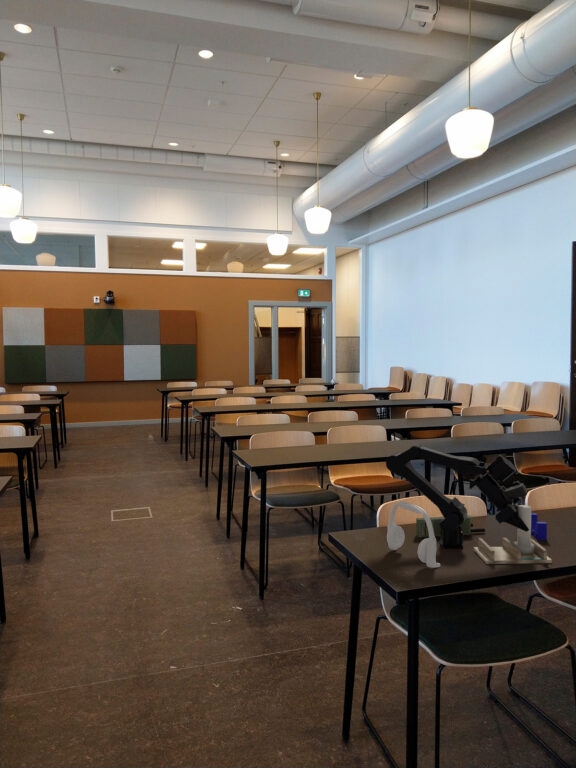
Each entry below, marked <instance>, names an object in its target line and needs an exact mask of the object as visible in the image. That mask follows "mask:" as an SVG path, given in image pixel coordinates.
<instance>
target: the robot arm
mask: <svg viewBox="0 0 576 768" xmlns="http://www.w3.org/2000/svg"><path fill="white" fill-rule="evenodd" d="M415 458H418V459H420V460H424V461H427V462H430V463H433V464H437V465H439V466H442V467H446V468H449V469H451V470H453V471H454V472H456V473H457V474H459V475H461V476H463V477H465V478H467V479H469V480H468V483H469V487H468V488H469V489H470V490H472V489H474V487H476V488H477V489H478V490H479V491H480V492H481V493H482V494H483V495H484V496H485V497H486V498H487V499H486V501H487V502H488V503H491V504H492V505H493V506H494V507H495V508H496V513H495V520H496V522H497V523H498V524H499V525H500V524H502V523H506V524H508V525H511V526H513V527H515V528H519V529H521V530H524V531H526V532H527V531H529V528H528V527H527V525H526V524H525V523H524V521H523V520H522V518H521V517H520V516H519V508H518V506H519V505H523V502H522V499H523V497H526V496H527V495H528V490H527V487H526V485H525V484H524V482H522V483H521V481H519V480H517V481H513V483H512V486H510V487H508V488H506V486H504V485H502V486H501V485H500V484H499V483H498V482H504V481H505V480H507V479H508V478H509V477H511V476H512V475H513V474H514V473H516V471H517V468H516V466H515V465H514V464H513V463H512V461H511V460H509V459H507V458H505V456H503V455H502V454H499V455H498V456H497V457H496V458H495V459H494V460H493V461H491V463H487V462H483V461H480V460H479V459H478V458H475V457H470V456H459V455H458V456H457V455H453V454H450V453H445V452H442V451H440V450H436V449H432V448H429V447H426V446H422V445H421V444H415V445H412V446H411V447H410V448H409V449H407V450H405V451H403V452H395V453H393V454H391V455H389V456H388V457H387V458H386V460H385V466H386V468H387V470H388V471H390V472H391V473H393V474H394V475H396V476H398V477H401V478H403V479H405V480H406V481H408V482H409V483H410V484H411V485H412V486H413V487H414V488H415V489H416V490H418V491H419V492H420V493H421V494H422V495H424V496H425V497H426V498H427V500H429V501H430V502H431V503H433V504H434V505H435V506H436V507H437V509H438V510H439V511H440V513H441V515H442V517H444V519H443V520H442V521H441V522H440V523H439V525H440V528H441V536H440V540H438V541H439V544H440V545H441V547H442V548H443V549H463V548H464V535H463V532H462V531H461V529H462V528H461V527H460V526H459V525H461V524H462V523H463V522H464V520H465V519H466V517H467V516H468V509H467V507H465V505H466V504H465V503H463V502H461V501H460V500H459V499H458V498H457V497H456V496H454V497H453V498H452V499H451V498H450V497H448V496H446V495H445V494H443V492H441V491H440V490H439V489H438V488H437V487H436V486H434V485H433V484H432V483H431V482H429V481H428V479H426V478H425V477H424V476H423V475H422V474H421V473H420V472H419V471H417V470H416V469H415V467H414V466H413V465H412V462H411V461H412V460H415ZM486 472H487V473H486ZM476 476H477V477H476ZM472 478H474V479H472ZM518 502H519V503H518Z"/></svg>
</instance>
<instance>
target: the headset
mask: <svg viewBox="0 0 576 768" xmlns="http://www.w3.org/2000/svg"><path fill="white" fill-rule="evenodd" d="M399 507H400V508H401V509H403V510H405V511H406V510H408V511H409V512H412V513H415V514H418V515H422V516H423V518H425V521H426V524H427V528H428V533H429V537H425V538H424V539H422V540H421V541H420V543H419V545H418V547H417V556H418V559H419V560H420V561H421V562H422V563H426V567H428V568H433V569H434V568H440V567H441V563H439V562H437V560H436V558H437V557H436V554H437V550H438V549H437V548H438V547H437V538H436V536H434V531H433V526H432V523H431V520H430V516H429V514H428V512H427V511H426V510H425V509H424V508H422V507H420V506H419V505H417V504H414V503H411V502H407V501H398V502H396V503H394V504H393V506H392V508H391V511H390V514H389V520H388V522H387V527H386V528H387V533H386V542H387V544H388V548H389V549H390V550H395V551H397V549H399V548H401V547H402V546H403V544H404V543H405V538H406V537H405V531H404V529H403V528H402V527H401V526H400V525H397V523H396V522H395V516H396V512H397V510H398V508H399Z"/></svg>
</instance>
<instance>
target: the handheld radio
mask: <svg viewBox="0 0 576 768" xmlns="http://www.w3.org/2000/svg"><path fill="white" fill-rule="evenodd" d="M429 517H430V516H429ZM415 519H416V520H415V521H416V524H415V526H416V528H415V530H416V532H415V536H416V537H417V538H429V533H428V528H427V524H426V521H425V518H424V517H417V518H415ZM443 519H444V517H443V516H433V517H430V520H431V523H432V526H433V531H434V536H435V537H441V528H440V525H439V523H440V522H441V521H442V520H443ZM473 521H474V520H473V515H467V517H466V519H465V520H464V522H463V523H462V524H461V525H459V526H460V527H461V528H462V529H461V531H462V532H463V536H470V535H471V533H485V532H486V528H483V527H482V528H481V527H480V528H473V527H474V524H473V523H471V522H473Z"/></svg>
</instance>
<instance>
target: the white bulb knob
mask: <svg viewBox="0 0 576 768" xmlns="http://www.w3.org/2000/svg"><path fill="white" fill-rule="evenodd" d="M518 508H519V516H520V517H521V518H522V520H523V521H524V523H525V524H526V525H527V527H528V528H529V531H527V532H526V531H524V530H521V529H519V528H517V527H516V528H517V532H516V539H517V540H516V541H514V542H513V544H514V545H515V546H516V547H517V548H518V549H519V550H521V553H524V554H531V553H534V544H533V543H531V538H532V534H531V513H532V506H531V505H525V504H522V505H519V506H518Z"/></svg>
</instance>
